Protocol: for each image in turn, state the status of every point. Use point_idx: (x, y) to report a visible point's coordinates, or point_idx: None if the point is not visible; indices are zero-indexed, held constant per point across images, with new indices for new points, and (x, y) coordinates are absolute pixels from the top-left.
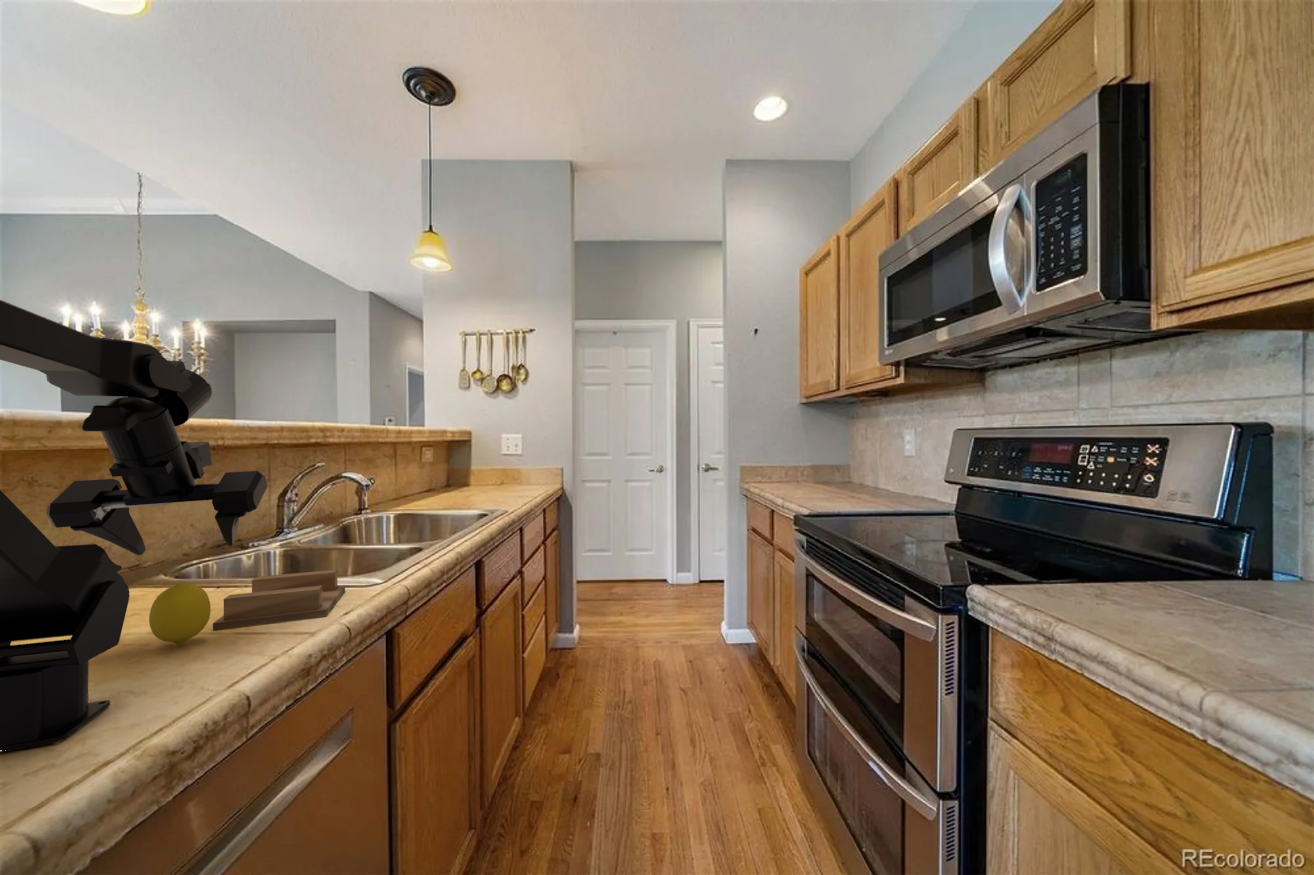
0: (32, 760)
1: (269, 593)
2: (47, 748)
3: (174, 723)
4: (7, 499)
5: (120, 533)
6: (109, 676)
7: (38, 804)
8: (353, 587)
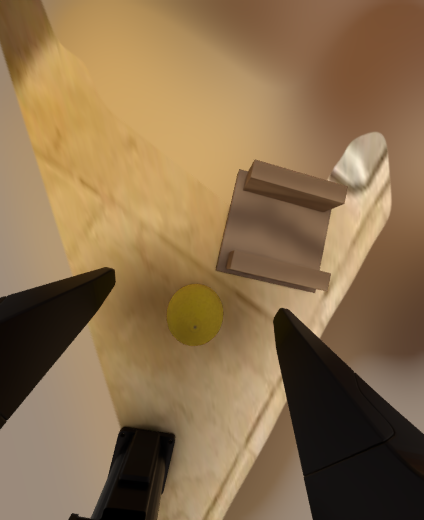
0: None
1: (276, 275)
2: None
3: (222, 493)
4: None
5: (19, 387)
6: (157, 357)
7: None
8: None
